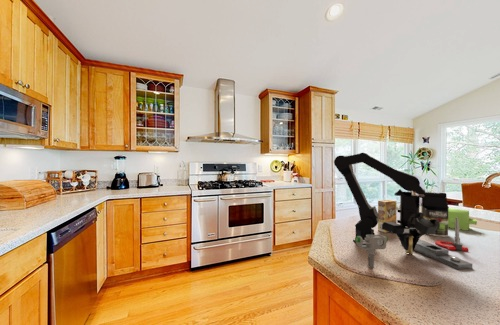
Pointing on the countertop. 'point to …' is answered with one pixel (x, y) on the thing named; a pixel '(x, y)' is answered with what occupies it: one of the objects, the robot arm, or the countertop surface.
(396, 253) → the countertop surface
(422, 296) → the countertop surface
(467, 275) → the countertop surface
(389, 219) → the candy box
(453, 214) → the gearbox
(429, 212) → the coffee can
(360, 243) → the mechanical component
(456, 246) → the tow hook
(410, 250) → the pin
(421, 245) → the grey slotted bracket fixture
